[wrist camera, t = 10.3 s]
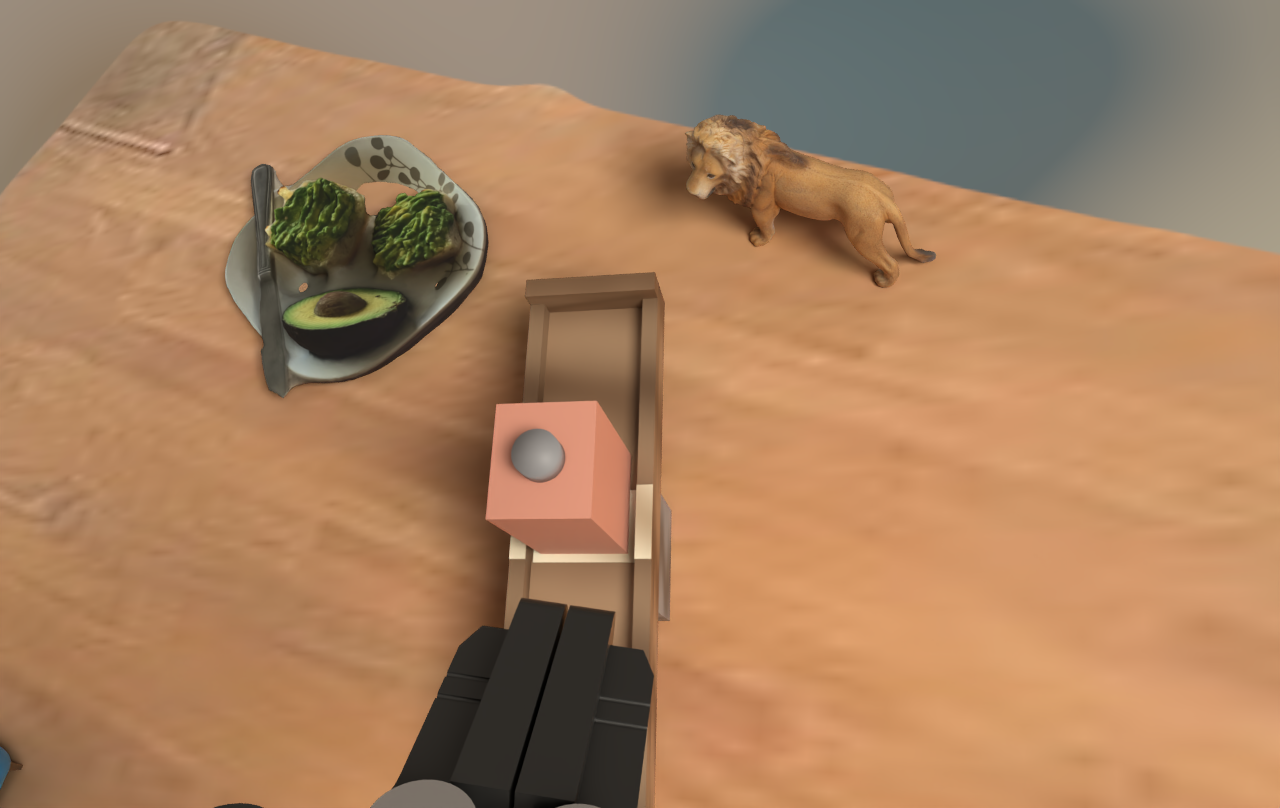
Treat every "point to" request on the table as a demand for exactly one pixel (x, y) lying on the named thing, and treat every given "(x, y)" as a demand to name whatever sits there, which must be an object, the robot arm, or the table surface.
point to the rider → (560, 478)
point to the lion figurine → (794, 188)
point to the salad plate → (353, 262)
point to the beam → (633, 401)
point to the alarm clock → (6, 765)
